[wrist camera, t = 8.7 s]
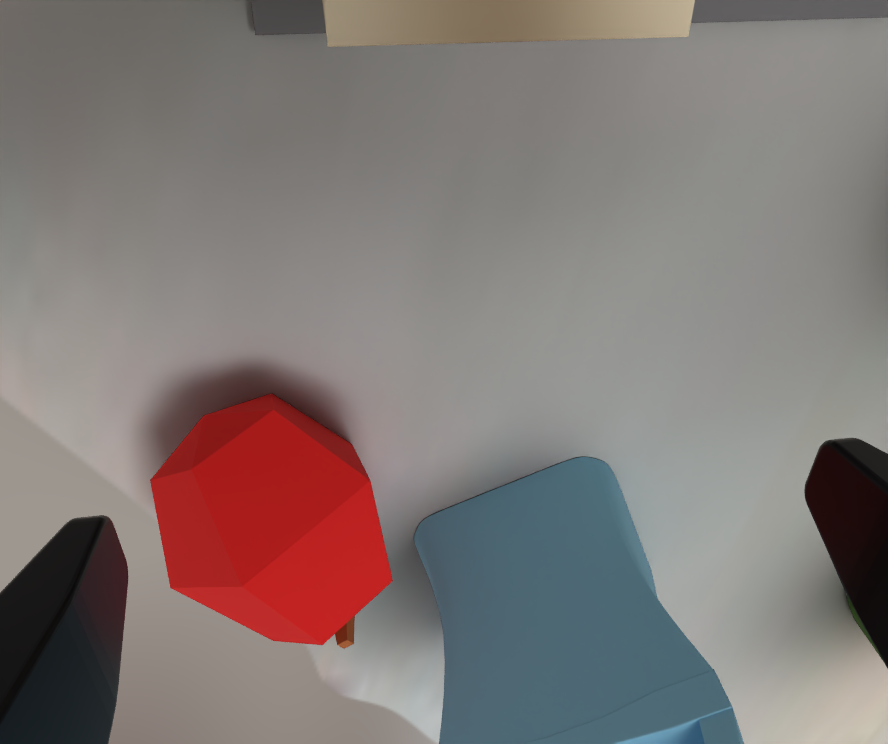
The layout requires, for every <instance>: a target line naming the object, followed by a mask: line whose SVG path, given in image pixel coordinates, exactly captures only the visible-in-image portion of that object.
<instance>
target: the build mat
mask: <svg viewBox="0 0 888 744" xmlns="http://www.w3.org/2000/svg"><path fill="white" fill-rule="evenodd" d="M251 5H252V13H253V21H254V28H255V35H274V34H309V33H326V27H325V19H324V11H323V2H322V0H251ZM879 17H888V0H695V3H694V8H693V14H692V19H691V23H701V22H737V21H773V20H808V19H844V18H879Z"/></svg>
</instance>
